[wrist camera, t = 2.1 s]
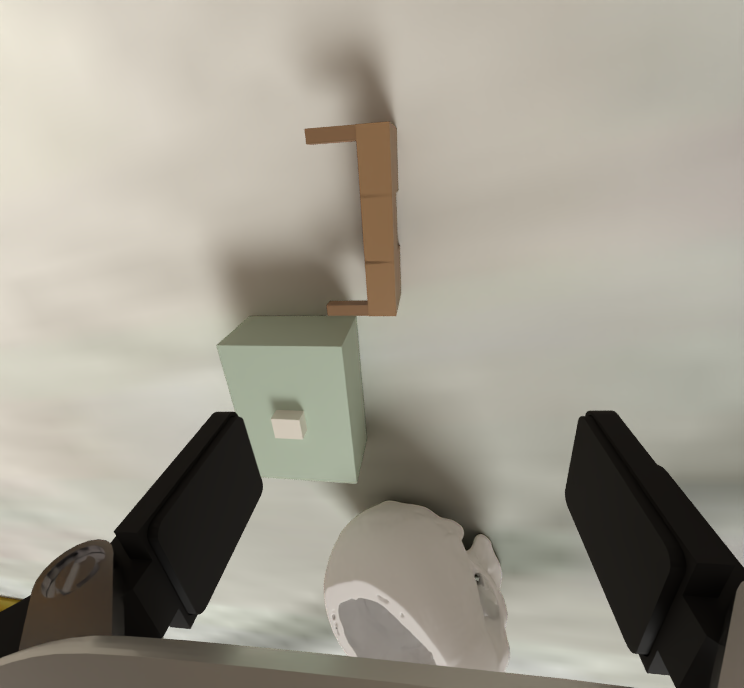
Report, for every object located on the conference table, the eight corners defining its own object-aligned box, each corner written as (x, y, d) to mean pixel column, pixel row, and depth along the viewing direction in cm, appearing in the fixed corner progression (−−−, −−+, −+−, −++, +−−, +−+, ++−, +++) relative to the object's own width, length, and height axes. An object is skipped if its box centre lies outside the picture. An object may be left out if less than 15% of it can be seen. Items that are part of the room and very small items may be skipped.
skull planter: (466, 622, 47) (409, 796, 31) (372, 492, 52) (279, 582, 36) (554, 583, 42) (542, 772, 25) (439, 441, 46) (365, 520, 30)
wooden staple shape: (325, 133, 26) (303, 128, 22) (396, 127, 25) (389, 121, 21) (341, 294, 31) (327, 316, 27) (401, 293, 31) (396, 315, 26)
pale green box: (250, 315, 34) (208, 352, 27) (356, 315, 32) (337, 354, 26) (277, 434, 40) (247, 486, 33) (366, 438, 38) (354, 494, 32)
